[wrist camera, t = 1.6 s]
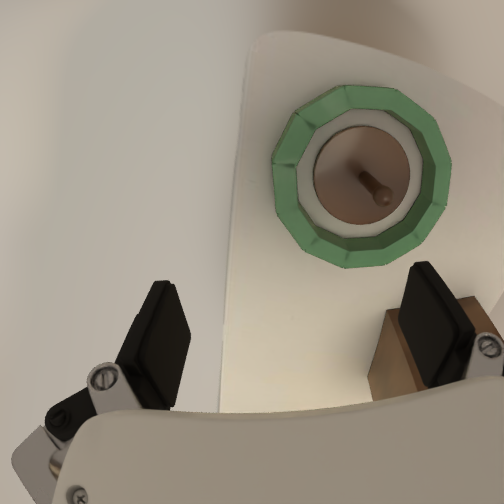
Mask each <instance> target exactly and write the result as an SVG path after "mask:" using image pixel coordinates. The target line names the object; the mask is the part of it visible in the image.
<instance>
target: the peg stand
mask: <svg viewBox="0 0 504 504" xmlns="http://www.w3.org/2000/svg"><path fill="white" fill-rule="evenodd" d="M313 180H314V187H315V191H316V193H317V196H318V198H319V200H320V202H321V204H322V205H323V206H324V208H325V209H326V210H327V211H328V212H329V213H330V214H331V215H333V216H334V217H335V218H337V219H339V220H341V221H343V222H346V223H350V224H356V225H363V224H370V223H374V222H377V221H380V220H382V219H383V218H385V217H387V216H388V215H390V214H391V213H392V212H393V211H394V210H395V209H396V208H397V207H398V206H399V205H400V203H401V202H402V200H403V198H404V197H405V194H406V192H407V189H408V185H409V180H410V168H409V163H408V159H407V156H406V153H405V152H404V150H403V148H402V146H401V145H400V144H399V142H398V141H397V140H396V139H395V138H394V137H392V136H391V135H390V134H388V133H386V132H385V131H383V130H380V129H378V128H374V127H370V126H355V127H350V128H347V129H344V130H342V131H340V132H338V133H337V134H335V135H334V136H332V137H331V138H330V139H329V140H328V141H327V142H326V143H325V144H324V146H323V147H322V149H321V150H320V152H319V154H318V156H317V158H316V162H315V165H314V171H313Z"/></svg>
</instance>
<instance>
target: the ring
mask: <svg viewBox="0 0 504 504" xmlns="http://www.w3.org/2000/svg"><path fill="white" fill-rule="evenodd" d="M351 108H353V109H378V110H384V111H386V112H387V113H389V114H390V115H391V116H393V117H394V118H396V119H397V120H399V121H400V122H401V123H403V124H404V125H406V126H407V127H408V128H410V130H411V132H412V135H413V137H414V139H415V141H416V143H417V146H418V148H419V150H420V153H421V155H422V157H423V173H422V185H421V193H420V195H419V197H418V198H417V200H416V201H415V203H414V205H413V206H412V208H411V209H410V211H409V212H408V214H407V216H406V217H405V219H404V220H403V221H401V222H400V223H398V224H396V225H395V226H393V227H391V228H390V229H388V230H386V231H385V232H383V233H381V234H380V235H378V236H376V237H366V238H350V239H343V238H341V237H339V236H337V235H334V234H332V233H330V232H328V231H326V230H324V229H322V228H320V227H318V226H315V225H314V223H313V222H312V220H311V219H310V217H309V216H308V214H307V213H306V211H305V210H304V208H303V207H302V205H301V204H300V203H299V201H298V194H297V175H296V166H297V164H298V162H299V161H300V159H301V157H302V155H303V153H304V151H305V149H306V147H307V145H308V143H309V141H310V140H311V138H312V136H313V134H314V132H315V130H316V129H318V128H319V127H321V126H323V125H324V124H326V123H328V122H329V121H331V120H333V119H334V118H336V117H338V116H339V115H341V114H343V113H344V112H346V111H348V110H350V109H351ZM271 159H272V171H273V183H274V195H275V207H276V213H277V216H278V217H279V219H280V220H281V221H282V223H283V224H284V225H285V227H286V228H287V229H288V231H289V232H290V234H291V235H292V236H293V238H294V239H295V240H296V242H297V243H298V245H299V246H300V247H301V249H302V250H304V251H305V252H306V253H309V254H311V255H313V256H316V257H318V258H320V259H323V260H325V261H327V262H329V263H332V264H334V265H336V266H339V267H341V268H343V267H344V269H346V268H359V267H371V266H383V265H385V264H386V265H387V264H389V263H390V262H392V261H394V260H395V259H397V258H399V257H401V256H402V255H404V254H406V253H407V252H409V251H411V250H412V249H414V248H415V247H417V246H419V245H420V244H421V242H423V241H424V240H425V238H426V237H427V236H428V234H429V233H430V231H431V230H432V228H433V227H434V225H435V224H436V222H437V221H438V219H439V217H440V216H441V214H442V213H443V211H444V210H445V206H447V199H448V192H449V185H450V176H451V167H452V163H450V162H452V161H451V158H450V156H449V153H448V150H447V147H446V145H445V142H444V140H443V137H442V134H441V132H440V130H439V127H438V125H437V122H436V120H435V119H434V118H433V117H432V116H431V115H430V114H429V113H427V112H426V111H425V110H424V109H422V108H421V107H420V106H419V105H417V104H416V103H415V102H413V101H412V100H411V99H409V98H408V97H407V96H405V95H404V94H403V93H401V92H400V91H398V90H396V89H394V88H384V87H371V86H352V85H343V86H337V87H334V88H332V89H330V90H329V91H327V92H325V93H323V94H322V95H320V96H318V97H317V98H315V99H313V100H312V101H310V102H308V103H307V104H305V105H303V106H302V107H300V108H299V109H297V110H295V113H293V114H292V116H291V118H290V120H289V122H288V124H287V126H286V128H285V130H284V132H283V134H282V136H281V138H280V140H279V142H278V144H277V146H276V148H275V150H274V152H273V154H272V158H271Z"/></svg>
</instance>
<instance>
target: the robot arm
mask: <svg viewBox="0 0 504 504" xmlns="http://www.w3.org/2000/svg"><path fill="white" fill-rule="evenodd" d="M398 323H399V326H400V328H401V330H402V333H403V335H404V337H405V340H406V342H407V344H408V347H409V349H410V351H411V354H412V356H413V359H414V361H415V364H416V366H417V369H418V371H419V374H420V376H421V379H422V382H423V384H424V386H426V387H428V389H427V390H423V391H419V392H415V393H411V394H407V395H402V396H398V397H393V398H388V399H383V400H378V401H372V402H367V403H361V404H354V405H348V406H340V407H333V408H324V409H315V410H304V411H291V412H273V413H202V412H201V413H200V412H181V411H170V407H174V405H175V402H176V398H177V393H178V389H179V385H180V381H181V376H182V373H183V368H184V364H185V360H186V356H187V352H188V348H189V344H190V340H191V333H190V329H189V326H188V324H187V321H186V318H185V315H184V312H183V309H182V306H181V303H180V300H179V296H178V293H177V290H176V287H175V285H174V284H171V283H170V281H168V280H164V281H155V282H154V283H153V285H152V287H151V289H150V291H149V293H148V295H147V297H146V299H145V301H144V303H143V305H142V308H141V309H140V312H139V314H137V315H136V317H135V319H134V321H133V323H132V325H131V327H130V329H129V332H128V334H127V336H126V338H125V340H124V343H123V345H122V347H121V350H120V352H119V354H118V356H117V358H116V361H115V363H111V362H106V363H102V364H99V365H97V366H96V367H94V368H93V369H92V370H91V372H90V373H89V375H88V378H87V387H86V388H84V389H83V390H81V391H79V392H77V393H76V394H74V395H72V396H70V397H68V398H66V399H65V400H63V401H61V402H59V403H57V404H56V405H54V406H53V407H51V408H50V410H49V411H48V412H47V414H46V416H45V426H44V427H42V426H41V425H40V426H39V427H38V428H37V429H36V430H35V431H34V432H33V433H32V434H31V435H30V436H29V437H28V438H27V439H26V440H25V441H24V442H23V443H21V445H20V446H18V447H17V448H16V449H15V451H14V452H13V454H12V458H11V460H12V466H13V468H14V470H15V472H16V473H17V475H18V477H19V478H20V480H21V481H22V483H23V485H24V486H25V488H26V489H27V491H28V492H29V494H30V495H31V497H32V498H33V500H34V501H35V503H36V504H504V344H503V342H502V341H501V339H500V338H499V337H498V336H496V335H495V334H493V333H489V332H482V333H479V334H478V335H477V334H476V332H475V330H476V329H475V327H474V325H473V324H472V322H471V321H470V319H469V318H468V316H467V314H466V313H465V311H464V310H463V308H462V307H461V305H460V304H459V302H458V301H457V299H456V298H455V297H454V295H453V294H452V292H451V291H450V289H449V288H448V287H447V285H446V284H445V282H444V281H443V280H442V278H441V277H440V276H439V274H438V273H437V272H436V270H435V269H434V268H433V266H432V265H431V264H430V263H429V262H428V261H422V262H415V263H414V265H413V266H411V267H410V270H409V275H408V279H407V283H406V287H405V292H404V296H403V299H402V303H401V307H400V311H399V314H398Z"/></svg>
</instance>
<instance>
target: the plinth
mask: <svg viewBox="0 0 504 504" xmlns="http://www.w3.org/2000/svg"><path fill="white" fill-rule="evenodd" d="M457 301H458V302H459V304H460V305H461V307H462V308H463V310H464V311H465V313H466V314H467V316H468V318H469V319H470V321H471V322H472V324H473V325H474V327H475V329H476V330H475V332H476V334H477V335H478V334H479V333H482V332H489V333H493V334H495V335H496V336H498V337H499V338H500V339H501V341H502V342H503V344H504V340H503V339H502V337H501V335H500V334H499V333H498V331H497V329H496V328H495V326H494V324H493V323H492V321H491V320H490V318H489V317H488V315H487V314H486V312H485V311H484V309H483V308H482V306H481V305H480V304H479V302H478V301H477V299H476V298H475V296H473V297H468V298H462V299H457ZM399 311H400V308H399V309H392V310H387V312H386V316H385V320H384V323H383V327H382V331H381V335H380V338H379V342H378V345H377V349H376V352H375V355H374V358H373V362H372V365H371V368H370V371H369V374H368V381H369V386H370V390H371V394H372V398H373V401H378V400H383V399H388V398H393V397H398V396H402V395H407V394H411V393H415V392H419V391H423V390H427V389H428V387H426V386H424V384H423V382H422V379H421V376H420V374H419V371H418V369H417V366H416V364H415V361H414V359H413V356H412V354H411V351H410V349H409V347H408V344H407V342H406V340H405V337H404V335H403V333H402V330H401V328H400V326H399V323H398V314H399Z"/></svg>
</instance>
